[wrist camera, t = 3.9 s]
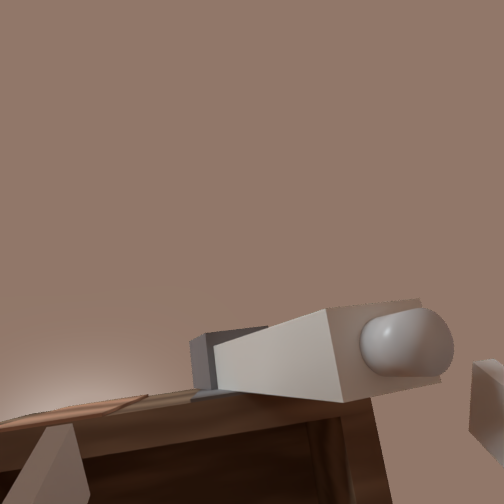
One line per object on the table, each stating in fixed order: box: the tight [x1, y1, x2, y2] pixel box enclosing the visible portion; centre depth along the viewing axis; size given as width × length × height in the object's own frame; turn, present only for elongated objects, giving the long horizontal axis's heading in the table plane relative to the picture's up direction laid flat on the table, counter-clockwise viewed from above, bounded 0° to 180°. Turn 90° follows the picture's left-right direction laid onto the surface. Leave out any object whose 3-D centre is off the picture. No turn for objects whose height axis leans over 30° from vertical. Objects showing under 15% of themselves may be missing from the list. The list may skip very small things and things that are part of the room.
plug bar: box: [190, 298, 454, 403], centre depth 23 cm, size 26×5×4 cm, turn 18°
